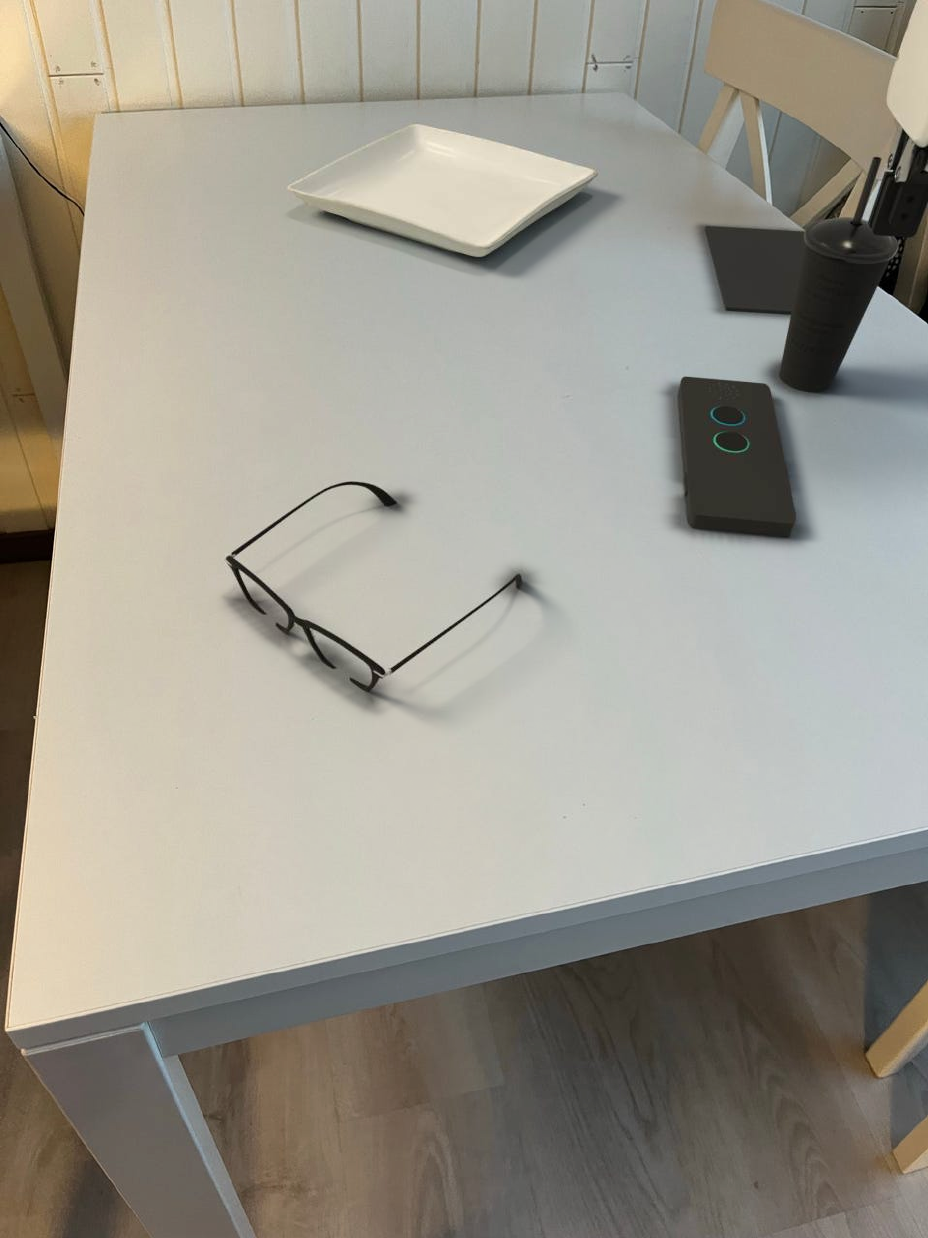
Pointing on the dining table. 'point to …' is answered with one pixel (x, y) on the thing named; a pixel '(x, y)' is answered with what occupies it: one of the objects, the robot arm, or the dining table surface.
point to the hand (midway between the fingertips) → (890, 231)
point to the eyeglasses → (306, 625)
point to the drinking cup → (833, 293)
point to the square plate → (443, 188)
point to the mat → (756, 267)
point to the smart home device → (733, 458)
